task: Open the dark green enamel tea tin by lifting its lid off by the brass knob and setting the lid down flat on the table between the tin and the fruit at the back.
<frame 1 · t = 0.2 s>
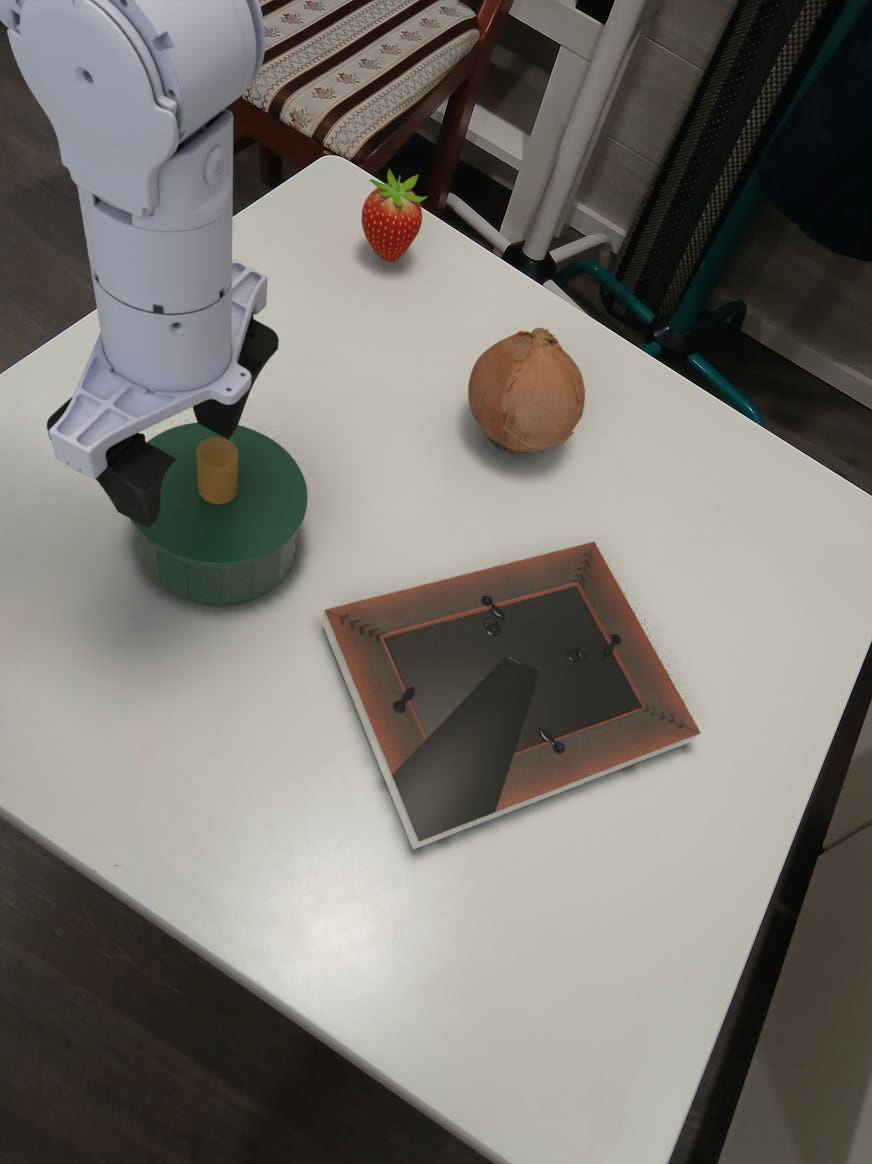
hand: (178, 470, 48), 11 cm above the table, tool pointing down, fingers open, 7 cm apart
onion: (510, 433, 71), on the table
picture frame: (507, 688, 59), on the table
fruit: (384, 259, 77), on the table
tin lid: (218, 494, 54), point 5 cm above the table, touching tea tin
tea tin: (218, 541, 58), on the table
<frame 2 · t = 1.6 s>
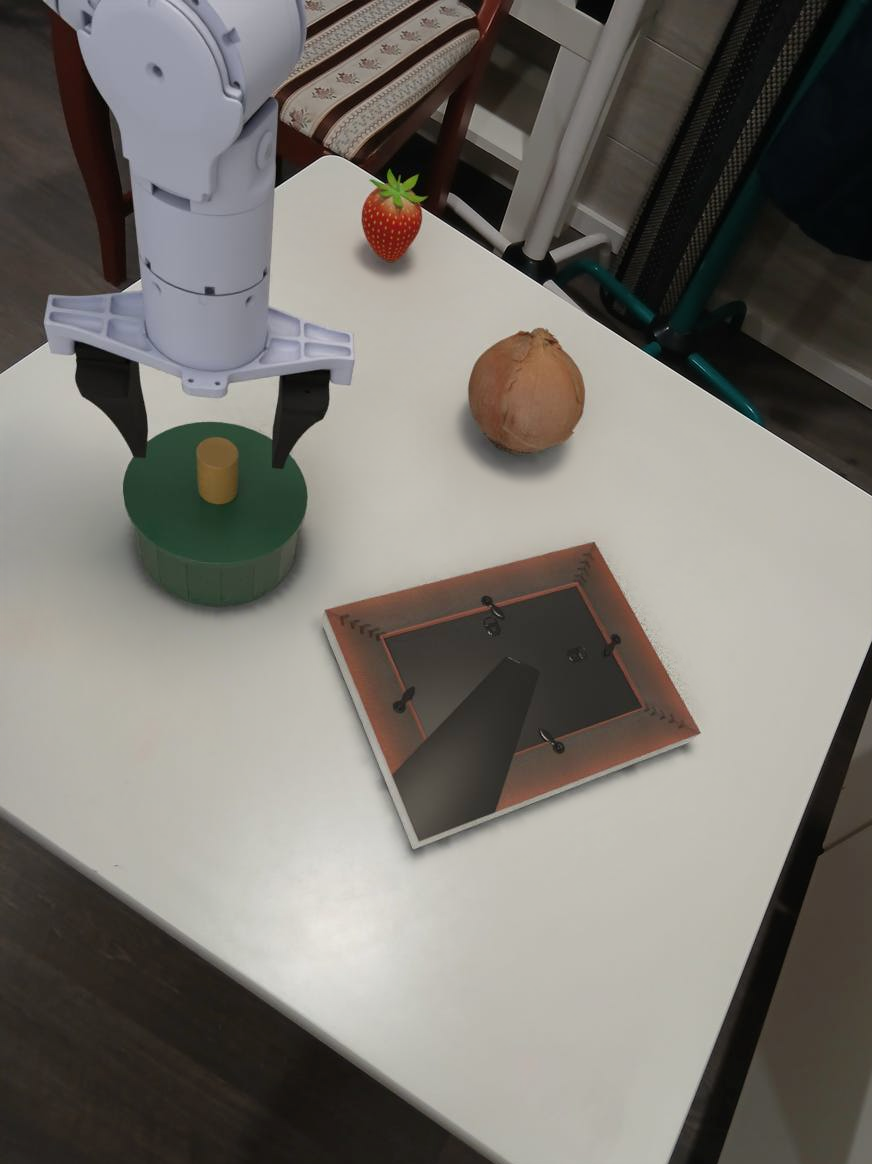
hand: (210, 450, 49), 10 cm above the table, tool pointing down, fingers open, 7 cm apart
nothing on the table moved.
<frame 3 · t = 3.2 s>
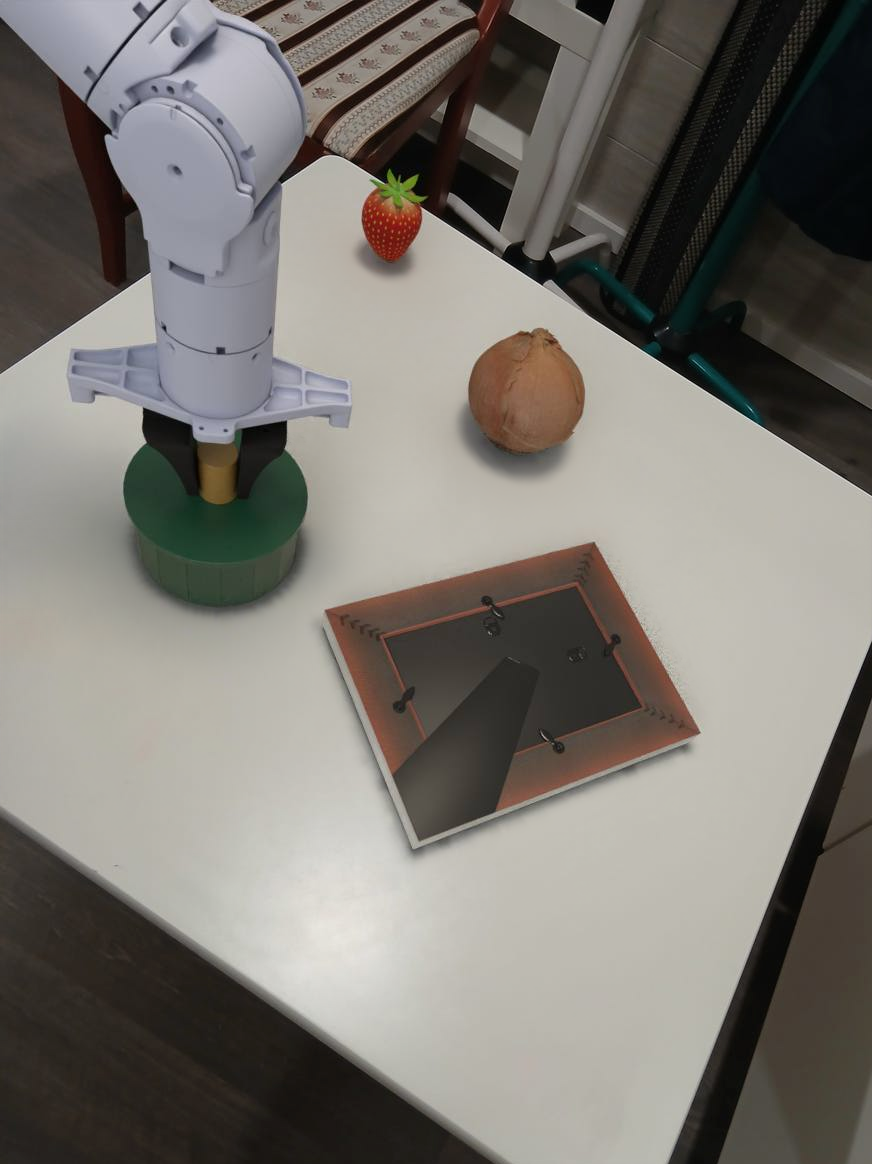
hand: (217, 484, 53), 6 cm above the table, tool pointing down, fingers closed on tin lid, 2 cm apart
tin lid: (218, 494, 54), point 5 cm above the table, touching gripper, tea tin
everything else where it was.
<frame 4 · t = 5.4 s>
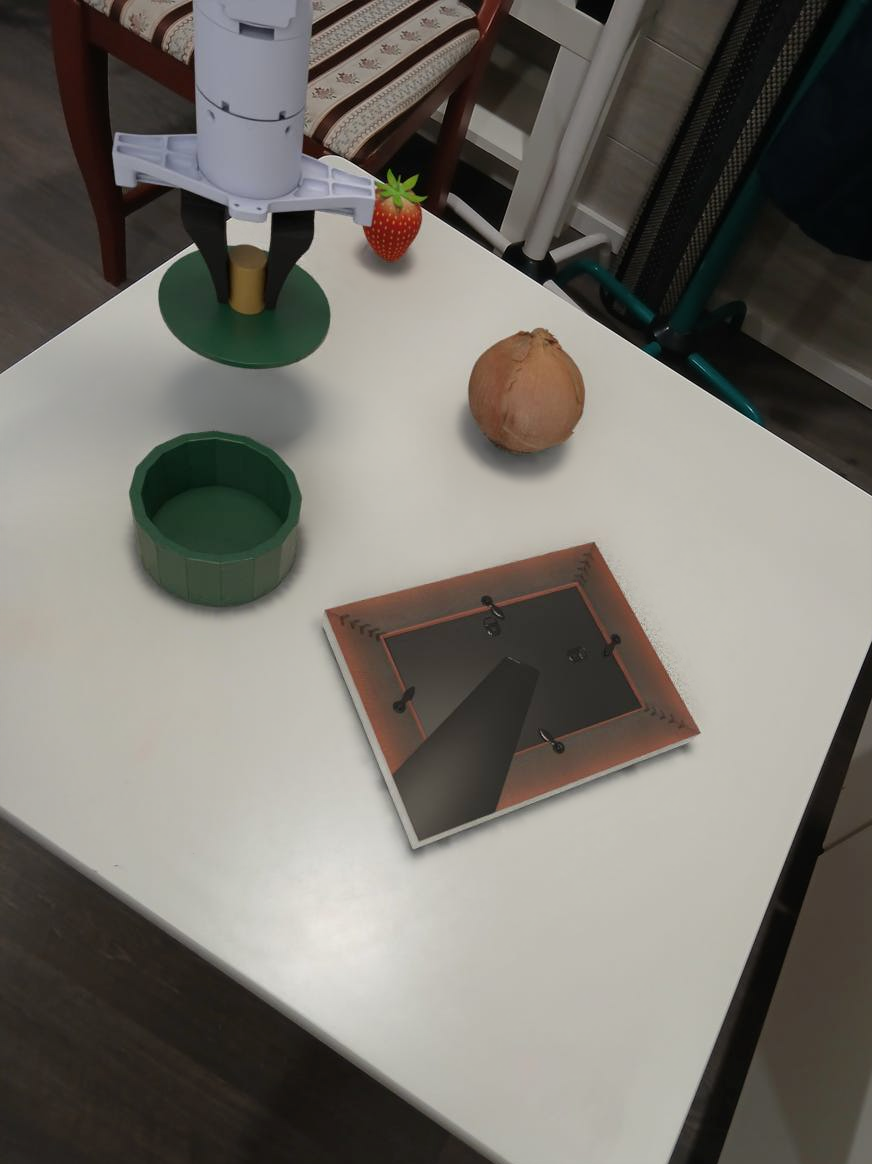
hand: (246, 296, 56), 10 cm above the table, tool pointing down, fingers closed on tin lid, 2 cm apart
tin lid: (246, 308, 57), point 9 cm above the table, touching gripper
everything else where it was.
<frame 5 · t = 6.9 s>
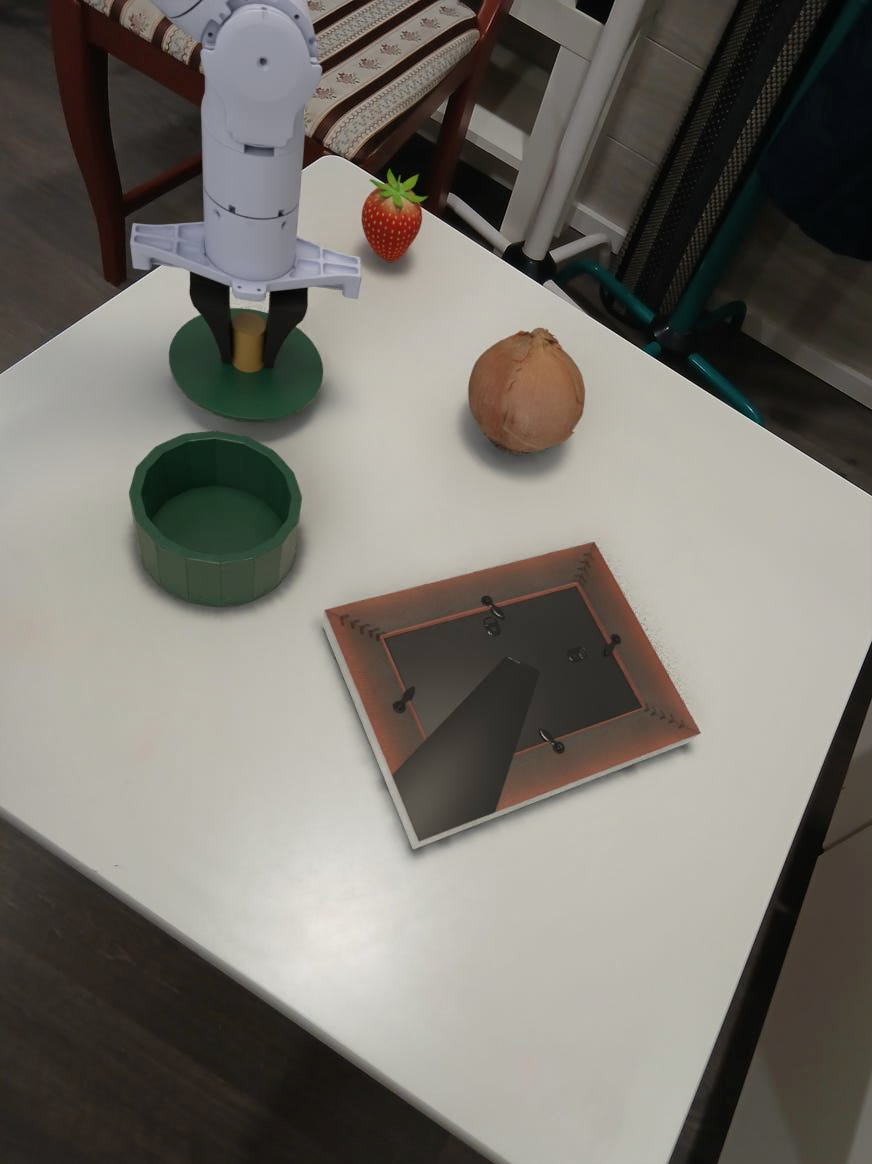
hand: (247, 356, 63), 3 cm above the table, tool pointing down, fingers closed on tin lid, 2 cm apart
tin lid: (247, 366, 64), point 2 cm above the table, touching gripper
everything else where it was.
when the fingers open (2 cm above the table, at t = 7.6 s): tin lid stays where it is, point 1 cm above the table.
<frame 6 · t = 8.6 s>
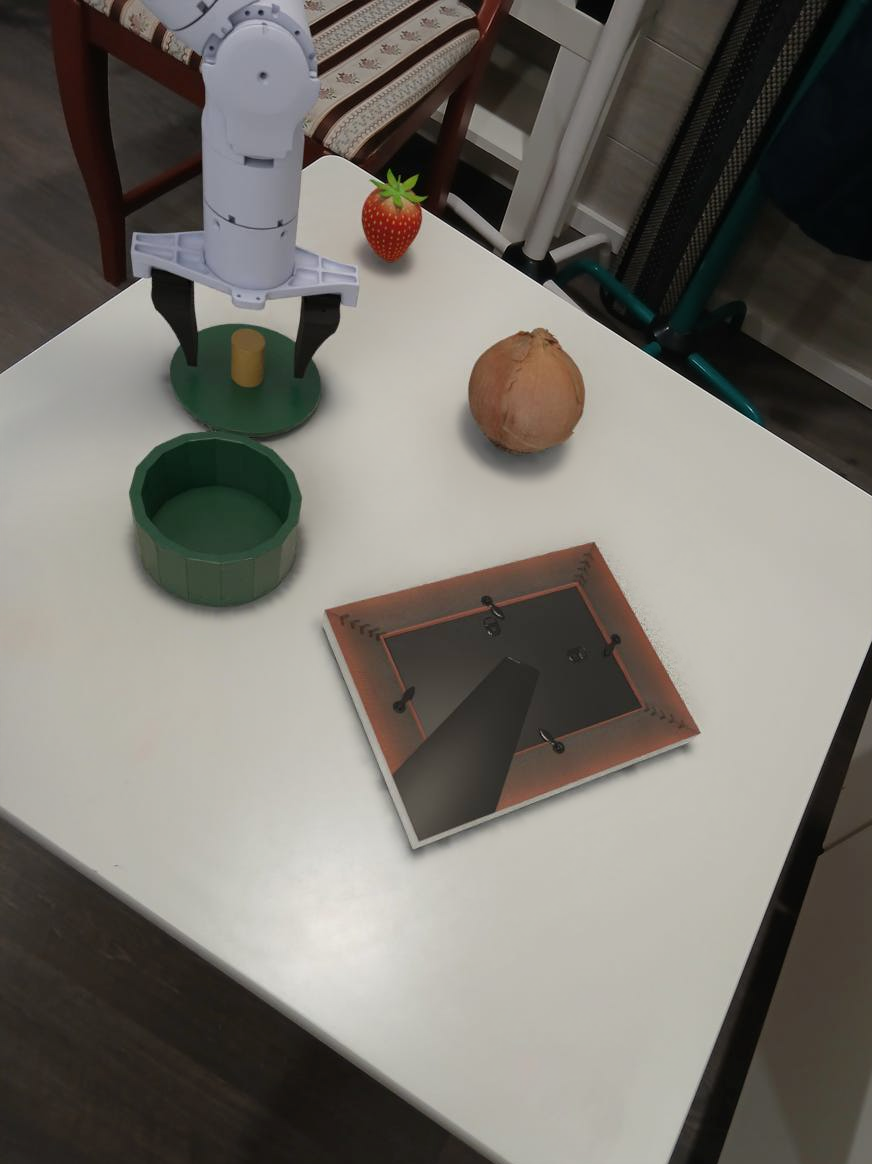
hand: (246, 362, 63), 2 cm above the table, tool pointing down, fingers open, 7 cm apart
tin lid: (247, 380, 65), point 1 cm above the table
everything else where it was.
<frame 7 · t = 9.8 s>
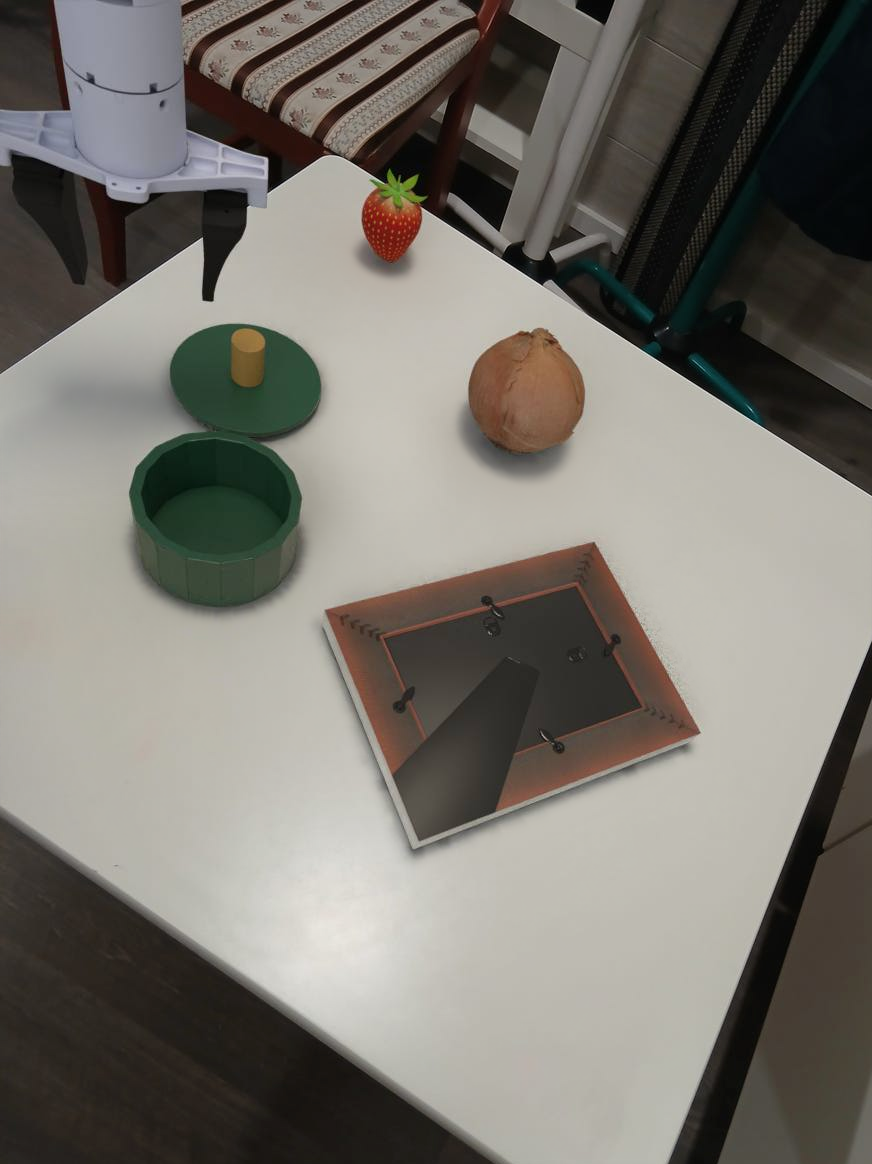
hand: (145, 282, 54), 10 cm above the table, tool pointing down, fingers open, 7 cm apart
nothing on the table moved.
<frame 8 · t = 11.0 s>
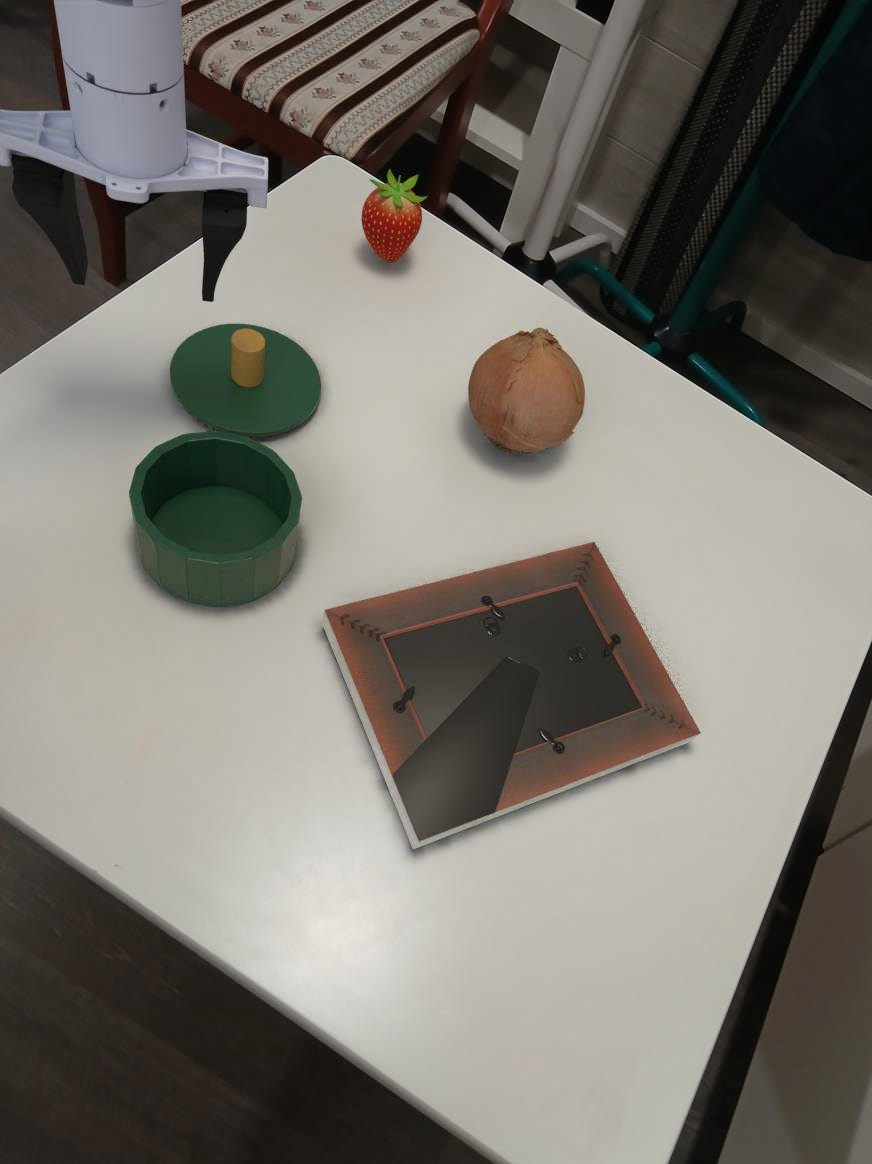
hand: (145, 282, 54), 10 cm above the table, tool pointing down, fingers open, 7 cm apart
nothing on the table moved.
at the end: tin lid inside the target area on the table beside the fruit (0.5 cm from its centre), point 0.8 cm above the table; tin lid point 0.6 cm above the table; tin lid tilted 0° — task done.
